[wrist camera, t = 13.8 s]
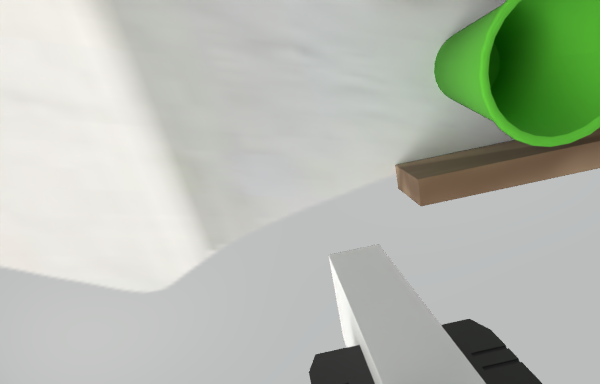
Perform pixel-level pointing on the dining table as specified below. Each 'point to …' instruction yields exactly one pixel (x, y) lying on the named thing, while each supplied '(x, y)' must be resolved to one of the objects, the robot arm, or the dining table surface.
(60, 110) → the dining table surface
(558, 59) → the cup
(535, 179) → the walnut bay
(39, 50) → the dining table surface
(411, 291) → the robot arm
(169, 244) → the dining table surface
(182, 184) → the dining table surface
